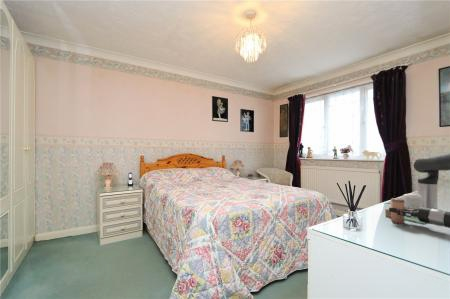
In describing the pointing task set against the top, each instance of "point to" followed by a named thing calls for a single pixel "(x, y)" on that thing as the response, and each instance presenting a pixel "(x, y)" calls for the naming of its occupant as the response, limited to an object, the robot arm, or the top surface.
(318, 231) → the top surface
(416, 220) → the green mat
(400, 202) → the canister
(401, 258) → the top surface
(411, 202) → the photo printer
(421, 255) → the top surface
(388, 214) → the letter block
